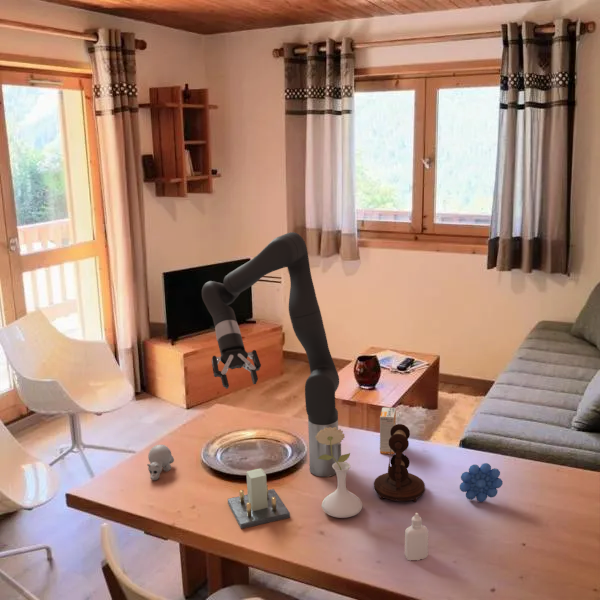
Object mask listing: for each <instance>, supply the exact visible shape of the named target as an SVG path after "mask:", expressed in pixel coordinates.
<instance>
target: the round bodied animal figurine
mask: <svg viewBox="0 0 600 600" xmlns="http://www.w3.org/2000/svg"><path fill="white" fill-rule="evenodd" d="M148 462H149V463H148V464H147V467H148V473H150V474H149V475H150V479H151V480H152V481H157V480H158V479H159V478H160V474H161V473H162V471H164V472H169V471H170V470H172V466H171V465H172V464H173V463H174V462H175V458H174V456H173V455H172V451H171V449H170V448H169V447H168V446H167V445H165V444H156V445H154V446H152V447H151V448H150V450H149V452H148Z"/></svg>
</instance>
